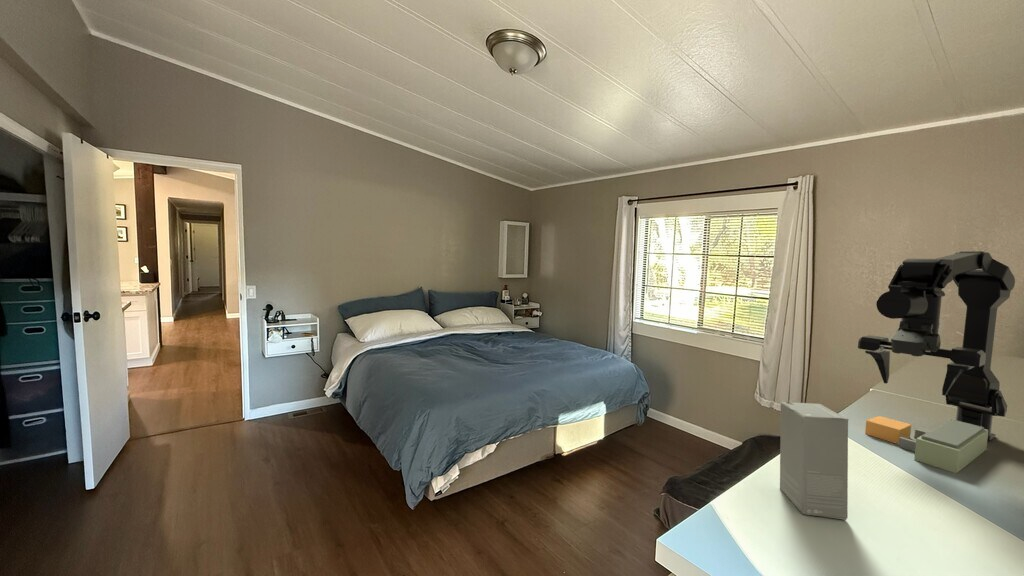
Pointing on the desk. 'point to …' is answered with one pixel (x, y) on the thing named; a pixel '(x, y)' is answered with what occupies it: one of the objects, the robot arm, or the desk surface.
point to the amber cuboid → (887, 429)
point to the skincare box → (814, 459)
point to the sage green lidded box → (948, 445)
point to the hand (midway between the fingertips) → (913, 388)
